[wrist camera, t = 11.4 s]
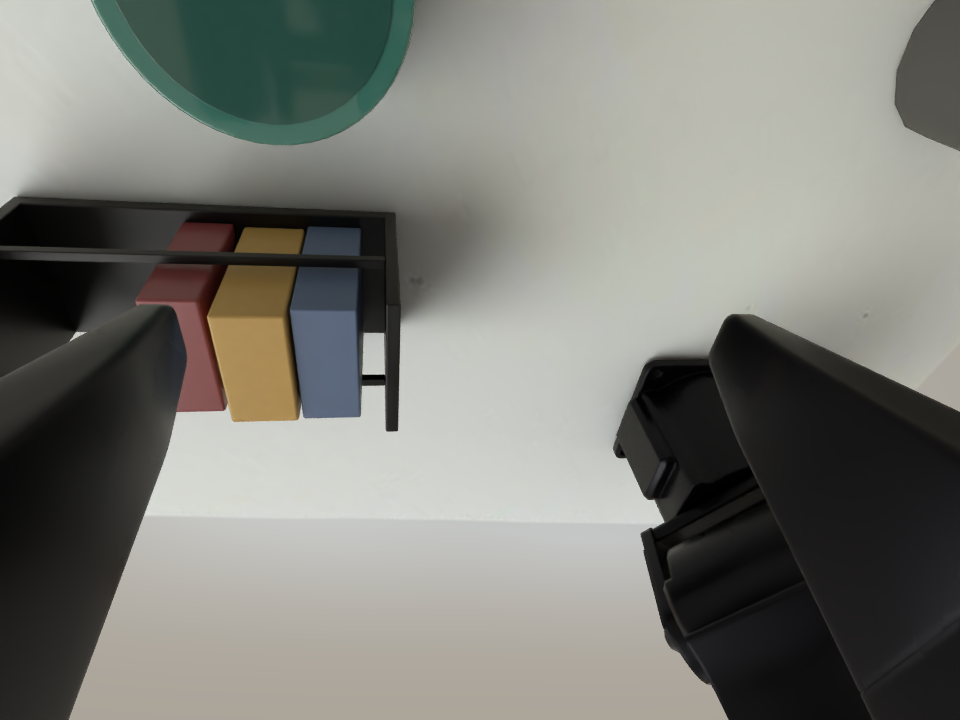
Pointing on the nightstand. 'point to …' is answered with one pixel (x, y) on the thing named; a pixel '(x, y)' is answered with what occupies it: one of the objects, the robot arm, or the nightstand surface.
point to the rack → (142, 245)
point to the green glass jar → (265, 60)
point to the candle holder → (932, 76)
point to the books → (266, 324)
